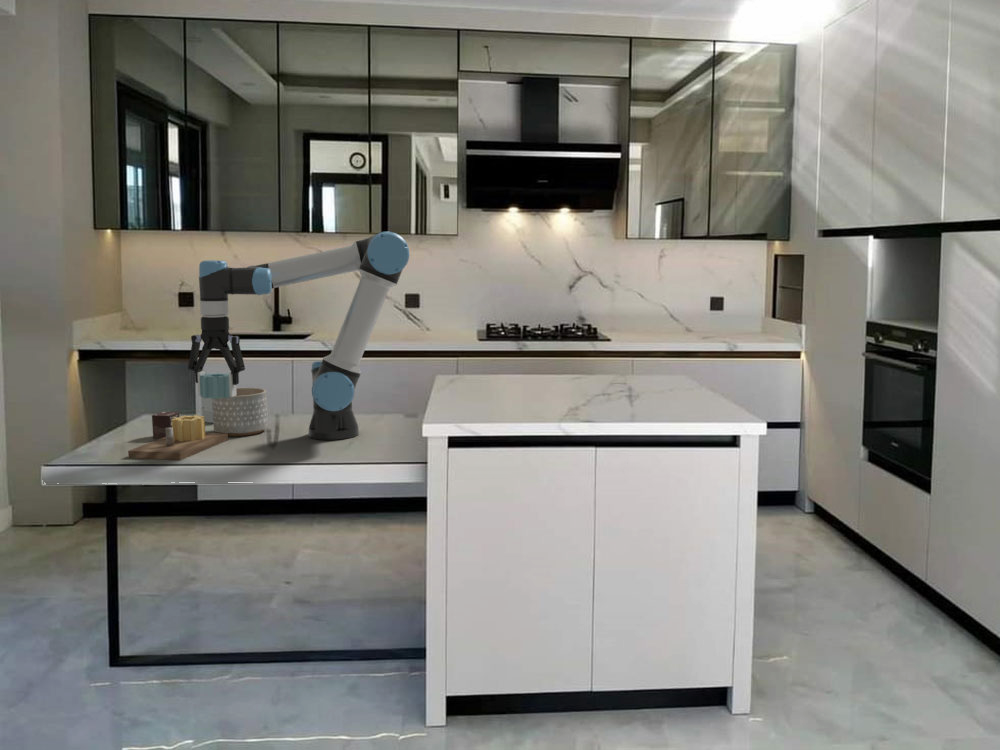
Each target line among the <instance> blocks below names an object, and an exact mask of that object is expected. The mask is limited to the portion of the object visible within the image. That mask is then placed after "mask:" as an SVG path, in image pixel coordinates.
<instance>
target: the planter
mask: <svg viewBox="0 0 1000 750" xmlns="http://www.w3.org/2000/svg"><path fill="white" fill-rule="evenodd" d="M236 393H237V395H236V396H233V397H230V398H218V399H214V398H212V408H213V423H212V424H213V431H214V432H215V433H228V437H242V436H243V437H244V436H252V435H256V434H260V433H261V432H263V431H264V430H265V429H267V428H268V427H269V421H268V420H269V418H268V400H267V399H268V397H267V390H266V389H264V388H260V387H259V388H258V387H236Z"/></svg>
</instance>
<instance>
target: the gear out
mask: <svg viewBox="0 0 1000 750" xmlns="http://www.w3.org/2000/svg"><path fill="white" fill-rule="evenodd" d="M171 421H172V428H173V438H174V440H179V441H181V442H182V441H195V440H197V439H204V437H206V435H205V433H206V422H205V418H204V416H202V415H200V416H199V414H194V415H181V416H179V417H174V418H173V419H172V420H171Z"/></svg>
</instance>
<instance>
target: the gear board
mask: <svg viewBox="0 0 1000 750" xmlns="http://www.w3.org/2000/svg"><path fill="white" fill-rule="evenodd" d="M165 430H166V437H164V438H161V439H156V440H153V441H151V442H147V443H146V444H143V445H140V446H138V447H137V446H136V447H134V448H132V449H130V450H128V451H127V453H128V458H130V459H148V460H149V459H150V460H171V461H172V460H173V461H182V460H184V459H187V458H189V457H191V455H192V456H194V455H197V454H198V452H199V453H200V451H201V452H203V451H206V450H208V449H210V448H213V447H215V446H217V445H219V443H220V444H222V443H225V442H227V441H228V440H229V436H228V433H219V432H205V435H206V437H204V439H197V440H195V441H182V442H181V441H179V440H174V438H173V428H165ZM212 446H213V447H212ZM207 448H208V449H207ZM205 449H206V450H205ZM193 454H194V455H193ZM188 456H189V457H188ZM186 457H187V458H186Z"/></svg>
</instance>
